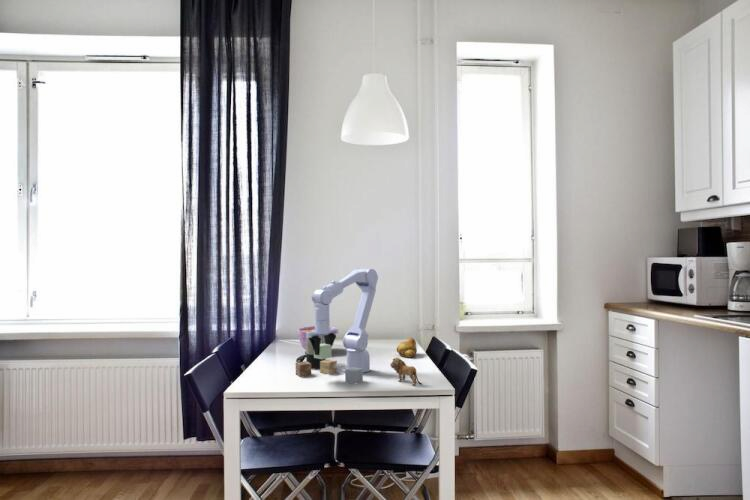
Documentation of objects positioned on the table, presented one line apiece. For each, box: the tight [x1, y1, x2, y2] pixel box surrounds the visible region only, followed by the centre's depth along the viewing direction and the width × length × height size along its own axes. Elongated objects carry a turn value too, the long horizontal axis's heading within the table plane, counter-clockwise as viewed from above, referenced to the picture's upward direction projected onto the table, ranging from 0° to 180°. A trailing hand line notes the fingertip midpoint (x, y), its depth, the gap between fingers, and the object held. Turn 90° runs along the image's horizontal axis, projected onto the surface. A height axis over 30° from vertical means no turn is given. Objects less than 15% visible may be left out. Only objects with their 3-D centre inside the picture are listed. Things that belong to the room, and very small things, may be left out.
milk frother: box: [295, 334, 327, 370], centre depth 234 cm, size 14×16×15 cm
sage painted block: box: [314, 343, 333, 360], centre depth 208 cm, size 5×5×5 cm
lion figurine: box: [390, 357, 423, 387], centre depth 202 cm, size 15×5×9 cm, turn 48°
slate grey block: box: [344, 367, 364, 384], centre depth 204 cm, size 5×5×5 cm
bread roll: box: [396, 337, 418, 358], centre depth 252 cm, size 13×10×8 cm
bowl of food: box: [297, 325, 338, 351], centre depth 264 cm, size 20×20×12 cm
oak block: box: [319, 358, 338, 375], centre depth 220 cm, size 5×5×5 cm
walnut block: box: [295, 361, 312, 378], centre depth 216 cm, size 5×5×5 cm
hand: (322, 353), depth 208 cm, fingers closed on sage painted block, 5 cm apart
